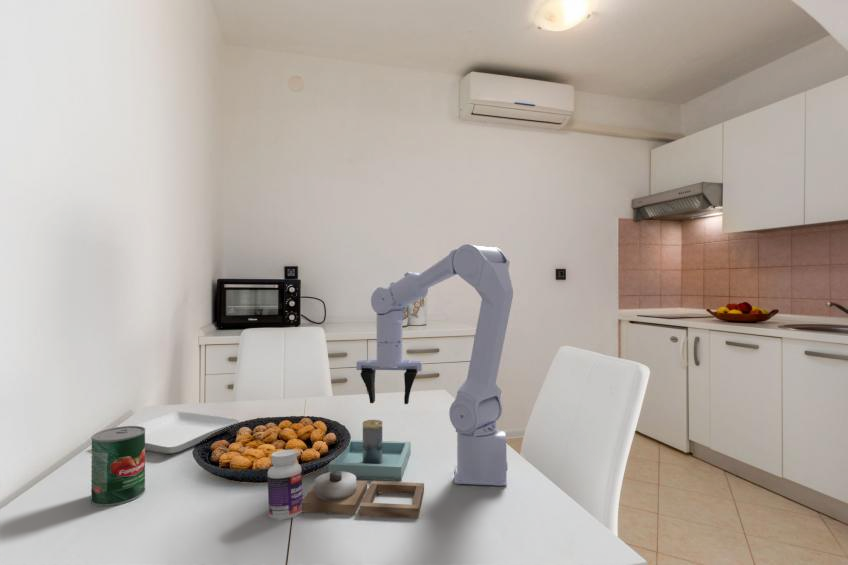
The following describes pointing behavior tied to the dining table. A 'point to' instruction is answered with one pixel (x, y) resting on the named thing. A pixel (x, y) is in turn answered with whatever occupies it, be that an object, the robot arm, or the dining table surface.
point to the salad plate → (181, 430)
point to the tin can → (372, 442)
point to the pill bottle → (285, 485)
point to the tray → (389, 469)
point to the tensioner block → (360, 496)
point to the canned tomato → (118, 465)
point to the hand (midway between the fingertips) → (389, 402)
